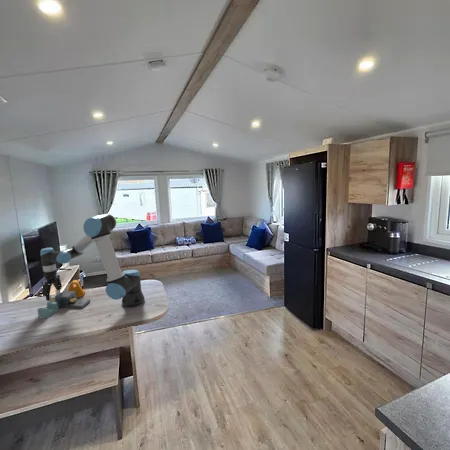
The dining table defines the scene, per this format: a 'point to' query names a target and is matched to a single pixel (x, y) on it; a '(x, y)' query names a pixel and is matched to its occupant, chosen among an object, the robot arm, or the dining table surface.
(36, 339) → the dining table surface
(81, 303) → the block
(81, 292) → the bracket
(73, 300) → the axle
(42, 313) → the v block
